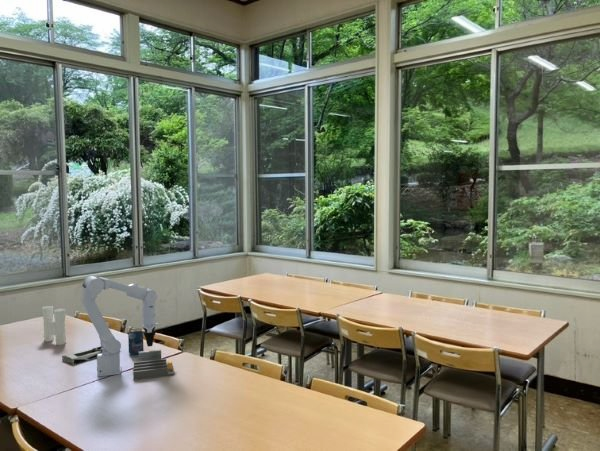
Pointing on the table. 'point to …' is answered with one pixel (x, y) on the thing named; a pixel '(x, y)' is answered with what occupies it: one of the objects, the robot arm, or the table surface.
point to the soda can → (135, 341)
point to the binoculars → (54, 324)
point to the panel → (149, 355)
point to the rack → (152, 369)
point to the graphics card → (82, 356)
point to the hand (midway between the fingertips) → (149, 343)
